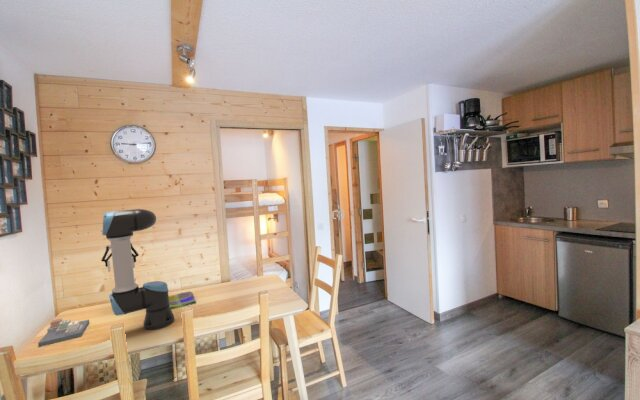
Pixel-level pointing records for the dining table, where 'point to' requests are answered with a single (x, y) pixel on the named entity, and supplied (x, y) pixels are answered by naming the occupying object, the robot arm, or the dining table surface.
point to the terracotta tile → (55, 323)
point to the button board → (62, 334)
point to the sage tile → (64, 324)
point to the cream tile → (73, 325)
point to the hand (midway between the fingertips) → (121, 269)
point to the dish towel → (181, 300)
